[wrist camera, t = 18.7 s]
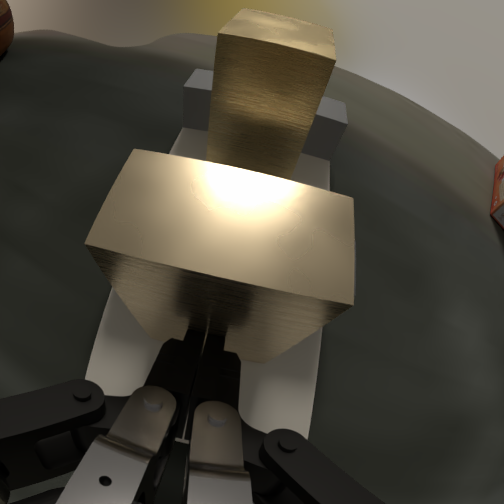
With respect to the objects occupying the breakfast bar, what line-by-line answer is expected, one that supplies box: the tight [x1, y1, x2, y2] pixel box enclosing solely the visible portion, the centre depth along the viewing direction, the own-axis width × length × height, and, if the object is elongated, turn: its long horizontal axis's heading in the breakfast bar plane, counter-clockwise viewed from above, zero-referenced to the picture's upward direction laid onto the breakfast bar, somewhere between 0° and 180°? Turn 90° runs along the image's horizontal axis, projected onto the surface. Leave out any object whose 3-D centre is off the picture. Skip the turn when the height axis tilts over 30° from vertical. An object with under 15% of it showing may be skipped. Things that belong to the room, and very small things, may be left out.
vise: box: [85, 69, 348, 444], centre depth 17 cm, size 12×24×5 cm, turn 170°
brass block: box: [206, 8, 336, 180], centre depth 16 cm, size 5×5×11 cm
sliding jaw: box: [85, 149, 356, 364], centre depth 12 cm, size 12×6×10 cm, turn 80°
